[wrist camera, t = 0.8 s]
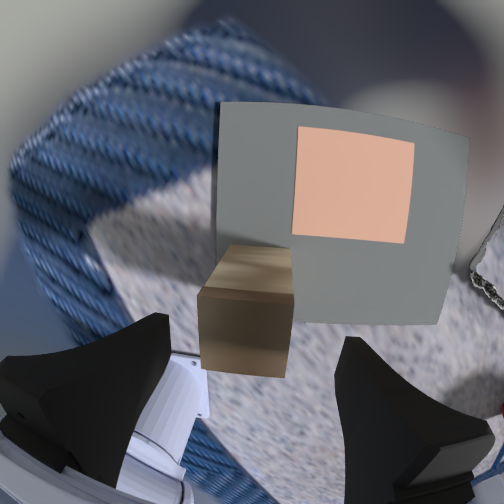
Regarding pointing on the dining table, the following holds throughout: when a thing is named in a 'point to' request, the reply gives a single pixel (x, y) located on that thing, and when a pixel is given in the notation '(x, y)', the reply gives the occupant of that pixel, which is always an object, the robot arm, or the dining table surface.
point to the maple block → (247, 312)
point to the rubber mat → (345, 207)
